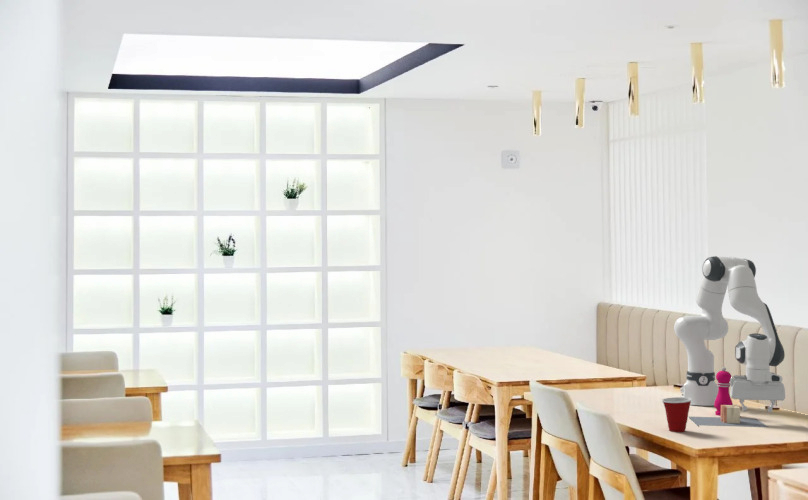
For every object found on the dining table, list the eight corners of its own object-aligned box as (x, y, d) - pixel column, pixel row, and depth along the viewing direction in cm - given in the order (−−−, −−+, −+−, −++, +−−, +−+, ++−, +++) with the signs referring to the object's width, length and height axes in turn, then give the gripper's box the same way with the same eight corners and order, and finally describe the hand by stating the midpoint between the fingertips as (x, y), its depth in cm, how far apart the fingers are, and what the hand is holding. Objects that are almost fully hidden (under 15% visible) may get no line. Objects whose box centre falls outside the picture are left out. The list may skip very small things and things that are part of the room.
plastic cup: (658, 427, 362) (658, 396, 362) (687, 428, 362) (687, 396, 362) (664, 433, 351) (665, 400, 351) (694, 433, 351) (695, 400, 351)
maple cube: (736, 420, 377) (720, 420, 378) (736, 405, 377) (720, 405, 378) (740, 423, 371) (724, 422, 372) (740, 407, 371) (724, 407, 372)
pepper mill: (720, 417, 387) (721, 368, 387) (710, 414, 394) (710, 366, 394) (736, 417, 389) (736, 367, 389) (725, 414, 396) (726, 365, 396)
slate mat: (688, 417, 386) (688, 416, 386) (755, 419, 383) (755, 418, 383) (698, 426, 366) (698, 425, 366) (768, 428, 363) (768, 427, 363)
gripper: (732, 376, 372) (731, 411, 371) (786, 377, 369) (786, 413, 369) (728, 374, 378) (727, 409, 378) (782, 375, 376) (781, 410, 376)
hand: (757, 411), depth 374 cm, fingers open, 8 cm apart
